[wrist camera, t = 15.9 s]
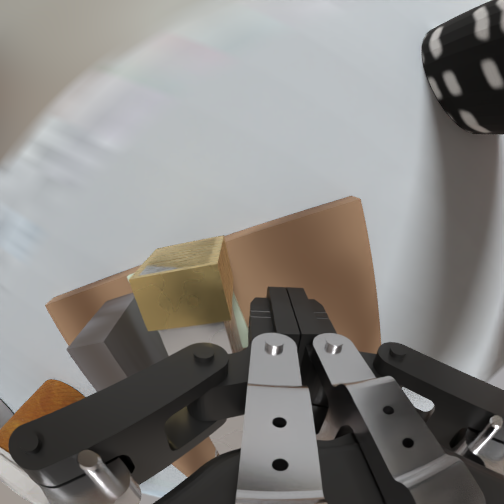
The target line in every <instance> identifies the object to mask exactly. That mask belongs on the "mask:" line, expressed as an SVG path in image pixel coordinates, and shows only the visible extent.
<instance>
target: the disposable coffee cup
mask: <svg viewBox="0 0 504 504" xmlns="http://www.w3.org/2000/svg"><path fill="white" fill-rule="evenodd" d="M83 398H85V397H84V396H83V395H82V394H81V393H79V392H78V391H77V390H75V389H74V388H72V387H71V386H69V385H67V384H65V383H63V382H61V381H57V380H52V379H50V380H47V381H46V382H45V383H44V384H43V385H42V386H41V387H40V388H39V389H38V390H37V391H36V392H35V393H34V394H33V395H32V396H31V397H30V398H29V399H28V400H27V401H26V402H25V403H24V404H23V405H22V406H21V407H20V409H19V410H18V411H17V412H16V413H15V414H14V415H13V416H12V417H11V418H10V419H9V420H8V422H7V423H6V424H5V425H4V426H3V427H2V428H1V429H0V481H1V482H3V483H4V484H5V485H6V486H8V487H9V488H10V489H11V490H13V491H14V492H15V493H17V494H18V495H20V496H21V497H23V498H24V499H26V500H27V501H29V502H30V503H32V504H50V503H49V501H48V500H47V498H46V496H45V495H44V493H43V491H42V489H41V488H40V487H39V486H38V485H37V484H36V483H35V482H34V481H33V480H32V479H31V478H30V477H29V475H28V474H27V473H26V472H25V471H24V470H23V469H22V468H21V467H20V466H19V465H18V464H17V463H16V462H15V461H14V460H13V459H12V457H11V455H10V452H9V448H8V443H9V438H10V436H11V434H12V432H13V431H14V430H15V429H16V428H17V427H19V426H20V425H22V424H25V423H27V422H30V421H32V420H35V419H37V418H40V417H42V416H45V415H47V414H49V413H52V412H54V411H56V410H59V409H61V408H63V407H66V406H68V405H70V404H72V403H75V402H77V401H79V400H81V399H83Z"/></svg>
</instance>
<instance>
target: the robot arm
mask: <svg viewBox="0 0 504 504" xmlns="http://www.w3.org/2000/svg"><path fill="white" fill-rule="evenodd" d="M402 387H405V388H407V389H409V390H411V391H413V392H415V393H417V394H419V395H421V396H423V397H425V398H427V399H429V400H431V401H432V402H433V403H434V405H435V406H434V407H433V409H432V410H430V411H428V412H423V411H421V410H419V409H417V408H415V407H414V406H413V404H412V403H411V402H410V400H409V399H408V397H407V396H406V395H405V393H404V392H403V390H402ZM13 415H14V414H13V413H12V412H11V411H10V409H9V408H8V407H7V406H6V405H5V404H4V403H3V402H2V401H1V400H0V429H1V428H2V427H3V426H4V425H5V424H6V423H7V422H8V420H9V419H10V418H11V417H12V416H13ZM241 415H244V425H243V435H242V445H241V448H239V449H235V450H232V451H228V452H226V453H223V454H221V455H219V456H217V457H215V458H213V459H211V460H210V461H208V462H206V463H205V464H204V465H202V466H201V467H200V468H199V469H198V470H196V471H195V472H194V473H193V474H191V475H190V476H189V477H188V478H187V479H185V480H184V481H183V482H182V483H180V484H179V485H178V486H176V487H175V488H174V489H172V490H171V491H170V492H168V493H167V494H166V495H164V496H163V497H162V498H160V499H159V500H158V501H156V502H155V503H153V504H504V390H502V389H499V388H497V387H495V386H493V385H490V384H488V383H486V382H484V381H481V380H479V379H477V378H475V377H472V376H470V375H468V374H466V373H463V372H461V371H459V370H457V369H455V368H452V367H450V366H448V365H446V364H444V363H441V362H439V361H437V360H435V359H433V358H430V357H428V356H426V355H424V354H422V353H420V352H418V351H415V350H413V349H411V348H409V347H407V346H405V345H402V344H399V343H394V342H388V343H384V344H382V345H380V347H379V348H378V351H377V354H374V353H367V352H360V351H358V350H357V349H356V347H355V346H354V344H353V343H352V341H351V340H349V339H348V338H346V337H345V336H342V335H339V334H337V332H336V330H335V328H334V327H333V325H332V323H331V321H330V319H329V317H328V315H327V313H326V311H325V309H324V307H323V305H322V304H320V303H319V302H318V301H316V300H315V299H308V297H307V295H306V293H305V291H304V288H294V287H286V288H285V287H269V286H268V288H267V295H266V298H260V297H255V298H254V299H253V301H252V302H251V303H250V315H249V328H248V347H247V348H246V349H244V350H242V351H240V352H236V353H231V354H228V353H227V352H226V350H225V349H224V348H222V347H221V346H219V345H216V344H213V343H206V342H201V343H195V344H191V345H189V346H187V347H185V348H183V349H181V350H180V351H178V352H176V353H174V354H172V355H170V356H168V357H166V358H165V359H163V360H161V361H159V362H157V363H155V364H153V365H151V366H149V367H147V368H145V369H143V370H141V371H139V372H137V373H135V374H133V375H131V376H129V377H127V378H125V379H123V380H121V381H119V382H117V383H115V384H113V385H111V386H109V387H107V388H105V389H103V390H101V391H99V392H96V393H94V394H92V395H90V396H88V397H86V398H83V399H81V400H79V401H77V402H75V403H72V404H70V405H68V406H66V407H63V408H61V409H59V410H56V411H54V412H52V413H49V414H47V415H45V416H42V417H40V418H37V419H35V420H32V421H30V422H27V423H25V424H22V425H20V426H19V427H17V428H16V429H15V430H14V431H13V432H12V434H11V436H10V438H9V443H8V448H9V452H10V455H11V457H12V459H13V460H14V461H15V462H16V463H17V464H18V465H19V466H20V467H21V468H22V469H23V470H24V471H25V472H26V473H27V474H28V475H29V477H30V478H31V479H32V480H33V481H34V482H35V483H36V484H37V485H38V486H39V487H40V488H41V489H42V491H43V493H44V495H45V496H46V498H47V500H48V501H49V503H50V504H139V502H140V500H141V489H140V487H139V485H140V484H141V483H143V482H144V481H146V480H148V479H149V478H151V477H152V476H154V475H155V474H157V473H159V472H160V471H162V470H163V469H165V468H166V467H167V466H169V465H170V464H172V463H173V462H175V461H176V460H178V459H179V458H180V457H182V456H183V455H185V454H186V453H187V452H189V451H190V450H191V449H193V448H194V447H195V446H197V445H198V444H199V443H201V442H202V441H203V440H205V439H206V438H207V437H209V436H210V435H211V434H212V433H214V432H215V431H216V430H217V429H219V428H220V427H221V426H222V425H223V424H224V423H225V422H226V420H227V418H232V417H236V416H241Z"/></svg>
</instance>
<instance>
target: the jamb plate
mask: <svg viewBox="0 0 504 504" xmlns="http://www.w3.org/2000/svg"><path fill="white" fill-rule="evenodd" d="M224 238H225V243H226V248H227V252H228V257H229V261H230V266H231V270H232V275H233V297H232V307H233V311H234V315H235V319H236V323H237V327H238V331H239V335H240V339H241V343H242V347H243V350H244V349H246V348H247V347H248V328H249V315H250V303H251V302H252V301H253V299H254V298H255V297H260V298H266V295H267V288H268V286H269V287H285V288H286V287H294V288H304V291H305V293H306V295H307V297H308V299H315V300H316V301H318V302H319V303H320V304H322V305H323V307H324V309H325V311H326V313H327V315H328V317H329V319H330V321H331V323H332V325H333V327H334V328H335V330H336V332H337V334H339V335H342V336H345V337H346V338H348V339H349V340H351V341H352V343H353V344H354V346H355V347H356V349H357V350H358V351H360V352H367V353H374V354H377V351H378V348H379V347H380V345H381V335H380V322H379V311H378V301H377V292H376V284H375V276H374V269H373V263H372V256H371V250H370V244H369V238H368V233H367V228H366V223H365V218H364V213H363V208H362V204H361V199H360V198H356V197H353V196H349V197H346V198H343V199H340V200H336V201H333V202H330V203H326V204H323V205H320V206H317V207H313V208H310V209H307V210H304V211H301V212H297V213H294V214H291V215H288V216H285V217H282V218H279V219H275V220H272V221H269V222H266V223H263V224H260V225H257V226H254V227H251V228H248V229H245V230H242V231H239V232H236V233H233V234H230V235H227V236H224ZM140 266H141V265H140ZM140 266H137V267H134V268H132V269H129V270H126V271H123V272H121V273H118V274H115V275H112V276H110V277H107V278H104V279H102V280H99V281H96V282H94V283H91V284H88V285H86V286H83V287H80V288H78V289H75V290H72V291H70V292H67V293H65V294H62V295H59V296H57V297H54V298H53V299H52V300H51V301H49V302H48V303H47V304H46V305H45V306H46V308H47V310H48V312H49V314H50V315H51V317H52V319H53V321H54V322H55V324H56V326H57V328H58V329H59V331H60V333H61V334H62V336H63V338H64V339H65V341H66V342H67V344H68V345H69V347H68V348H67V351H68V352H69V354H70V355H71V357H72V358H73V360H74V361H75V363H76V364H77V365H78V367H79V368H80V370H81V371H82V372H83V374H84V375H85V376H86V378H87V379H88V380H89V382H90V383H91V384H92V386H93V387H94V388H95V389H96V391H97V392H99V391H101V390H103V389H105V388H107V387H109V386H111V385H113V384H115V383H117V382H119V381H121V380H123V379H125V378H127V377H129V376H131V375H133V374H135V373H137V372H139V371H141V370H143V369H145V368H147V367H149V366H151V365H153V364H155V363H157V362H159V361H161V360H163V359H165V358H166V357H168V356H169V355H168V353H167V351H166V348H165V346H164V343H163V341H162V339H161V336H160V334H159V331H158V330H155V331H148V330H147V328H146V325H145V323H144V320H143V318H142V315H141V313H140V310H139V307H138V305H137V302H136V299H135V296H134V294H133V291H132V288H131V285H130V282H129V279H130V277H131V276H132V275H133V274H134V273H135V272H136V271H137V270H138V269H139V267H140ZM215 449H216V448H215V446H214V444H213V443H212V441H211V439H210V437H207V438H206V439H205V440H203V441H202V442H201V443H199V444H198V445H197V446H195V447H194V448H193V449H191V450H190V451H189V452H187V453H186V454H185V455H183V456H182V457H180V458H179V459H178V460H176V461H175V462H173V463H172V465H174V466H175V467H176V468H177V469H178V470H180V471H181V472H182V473H183V474H185V475H186V476H187V477H189V476H190V475H191V474H193V473H194V472H195V471H196V470H198V469H199V468H200V467H201V466H202V465H204V464H205V463H206V462H208V461H210V460H211V459H213V458H215Z"/></svg>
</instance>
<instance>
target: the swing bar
mask: <svg viewBox="0 0 504 504" xmlns="http://www.w3.org/2000/svg"><path fill="white" fill-rule="evenodd" d="M129 282H130V285H131V288H132V291H133V294H134V296H135V299H136V302H137V305H138V307H139V310H140V313H141V315H142V318H143V320H144V323H145V325H146V328H147V330H148V331H155V330H158V331H159V334H160V336H161V339H162V341H163V343H164V346H165V348H166V351H167V353H168V355H169V356H170V355H172V354H174V353H176V352H178V351H180V350H181V349H183V348H185V347H187V346H189V345H191V344H195V343H201V342H206V343H213V344H216V345H219V346H221V347H222V348H224V349H225V350H226V352H227V353H228V354H231V353H236V352H240V351H242V350H243V347H242V343H241V339H240V335H239V331H238V327H237V323H236V319H235V315H234V311H233V307H232V297H233V275H232V270H231V266H230V261H229V257H228V252H227V248H226V243H225V238H224V235H223V236H218V237H213V238H208V239H202V240H197V241H192V242H187V243H182V244H177V245H172V246H167V247H162V248H158V249H156V250H155V251H154V252H153V253H152V254H151V255H150V257H149V258H148V259H147V260H146V261H145V262H144V263H143V264H142V265H141V266H140V267H139V269H138V270H137V271H136V272H135V273H134V274H133V275H132V276H131V277H130V279H129ZM243 425H244V415H241V416H236V417H232V418H227V420H226V422H225V423H224V424H223V425H222V426H221V427H220V428H219V429H217V430H216V431H215V432H214V433H212V434H211V435H210V436H209V437H210V439H211V441H212V443H213V444H214V446H215V448H216V449H215V457H217V456H219V455H221V454H223V453H226V452H228V451H232V450H235V449H239V448H241V445H242V435H243Z"/></svg>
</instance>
